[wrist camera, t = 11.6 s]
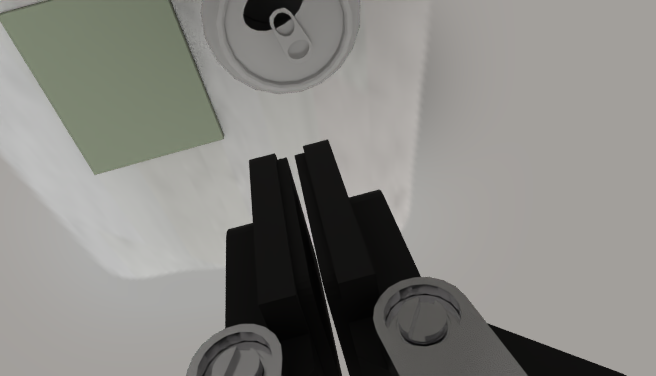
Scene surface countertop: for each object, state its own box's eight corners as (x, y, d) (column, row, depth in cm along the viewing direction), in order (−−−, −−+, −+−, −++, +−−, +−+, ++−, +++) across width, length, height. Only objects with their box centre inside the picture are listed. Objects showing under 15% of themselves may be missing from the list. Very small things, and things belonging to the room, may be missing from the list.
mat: (0, 13, 30) (-3, 15, 29) (158, -30, 30) (156, -28, 29) (96, 170, 37) (94, 174, 36) (223, 135, 37) (223, 139, 36)
